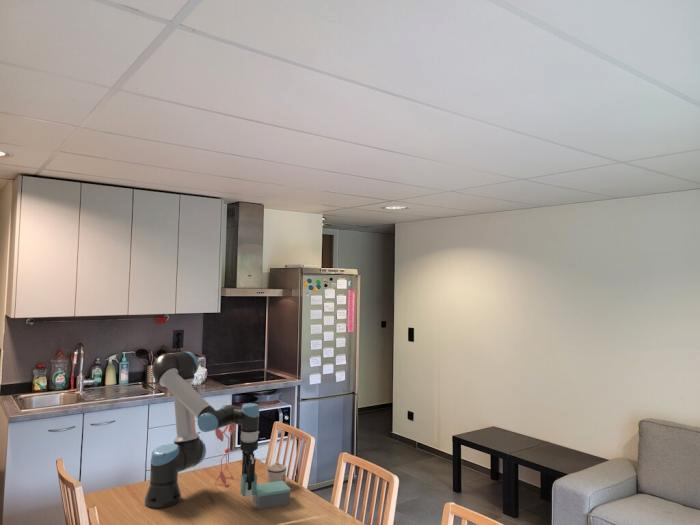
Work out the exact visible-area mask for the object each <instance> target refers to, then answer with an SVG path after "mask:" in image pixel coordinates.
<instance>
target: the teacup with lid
mask: <svg viewBox="0 0 700 525" xmlns="http://www.w3.org/2000/svg"><path fill="white" fill-rule="evenodd" d="M286 473H287V466H286V465H285V464H281V463H280V462H279V461H275V462H274V463H273V464H270V465H269V466H267V483H269V482H276V481H282V480H283V481H284V482H285V483H286V480H287V479H286V478H287V477H286V475H287V474H286Z"/></svg>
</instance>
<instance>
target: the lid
mask: <svg viewBox="0 0 700 525" xmlns="http://www.w3.org/2000/svg"><path fill="white" fill-rule="evenodd" d="M245 481H247V473H246V474H242V473H241V475H240V491H239V493H240V494H241V496H242V497H245V494H246V483H245ZM291 489H292V488H291V487H290V486H288V484H287V483H286V481H285V482H284V481H283V480H282V481H276V482H269V483H268V482H265V483H264V482H263V483H259V484H258V475H257V473H256V472H255V476H254V482H253V483H252V496H253V495H255V494H257V496H258V497H262V496H268V495H274V494H280V493H286V492H290V493H291V492H292V490H291Z"/></svg>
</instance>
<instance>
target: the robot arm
mask: <svg viewBox="0 0 700 525" xmlns="http://www.w3.org/2000/svg"><path fill="white" fill-rule="evenodd" d="M199 364H200V363H199V359H198V357H197V356H196V355H195V354H194V353H193V352H192V351H177V352H172V353H164V354H160V355H159V356H158V357H157V358H156V359H155V360H154V362H153V364H152V367H151V368H152V369H151V372H152V375H153V378H154V380H155V381H156V383H158V385H160V386H161V387H165V388H166V389H167V390H168V391H169V392H170V393H171V394H172V395H173V401H174V414H175V426H176V427H175V428H176V430H175V431H176V437H175V439H173V443H167V444H162V445H159V446H157V447H155V448H154V449H153V450H152V451H151V456H150V457H151V458H150V475H149V486H148V489H147V490H146V494H145V496H144V505H145V506H146V507H148V508H153V509H164V508H169V507H172V506H175V505H177V504H179V503H180V501H181V499H182V492H181V489H180V486H179V482H178V479H179V478H178V477H179V473H180V472H182V471H186V470H187V469H190V468H194V467H196V466H197V465H199V464H201V463H202V462H203V460H204V459H205V457H206V453H207V452H206V451H207V448H206V444H205V443H204V441H203V440H202V439H201V438H200V435H199V434H198V433H197V432H196V420H195V418H196V419H197V426H198V429H199V430H200V431H201V432H204V433H208V432H213V431H215V429H221V428H223V427H226V426H227V425H230V424H236V425H238V426H240V450H241V455H242V456H241V457H242V460H241V462H242V463H241V474H246V473H247V481H245V483H246V494H245V496H244V497H245V498H251V497H252V498H253V495H252V483H253V482H254V476H255V473H256V463H257V462H256V461H257V460H256V458H255V454H254V452H255V451H257V450H258V448H259V435H260V430H259V423H260V406H259V404H257V403H252V402H251V403H250V402H248V403H243V405H242V406H237V405H233V404H224V405H221V407H220V408H219V409H217V410H216V409H215V408H214V407H213V406H212V405H211V404H209V402H207V401H206V399H205V398H203V397H202V396H201V395H200V393H198V392H197V391H196V389H195V388H193V381H194V380H195V374H197V372H198V370H199V367H200V365H199Z"/></svg>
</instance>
